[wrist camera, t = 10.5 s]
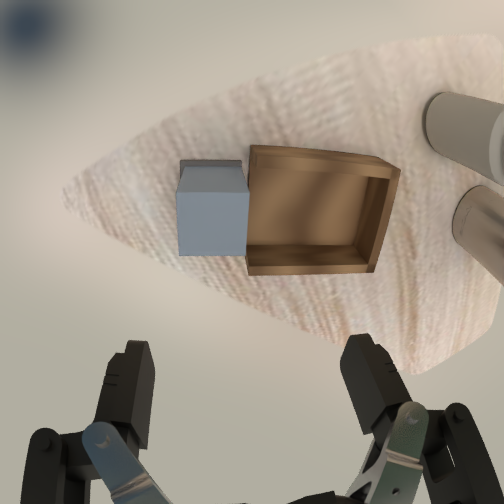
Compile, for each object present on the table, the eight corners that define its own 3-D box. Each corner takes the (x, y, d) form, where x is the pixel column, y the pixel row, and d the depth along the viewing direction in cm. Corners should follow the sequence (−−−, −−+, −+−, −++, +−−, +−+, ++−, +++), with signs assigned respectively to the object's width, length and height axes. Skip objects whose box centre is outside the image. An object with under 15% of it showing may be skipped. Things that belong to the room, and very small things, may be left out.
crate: (377, 157, 28) (400, 169, 24) (357, 250, 33) (373, 272, 29) (250, 144, 26) (257, 155, 22) (243, 250, 31) (248, 275, 28)
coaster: (241, 160, 27) (241, 161, 26) (238, 219, 30) (238, 222, 29) (180, 160, 26) (180, 161, 25) (182, 219, 29) (181, 222, 28)
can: (438, 166, 29) (512, 209, 19) (409, 115, 25) (494, 143, 15) (473, 130, 27) (547, 162, 16) (448, 79, 23) (531, 96, 13)
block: (241, 166, 26) (249, 192, 20) (238, 217, 29) (245, 255, 23) (185, 166, 26) (176, 192, 20) (186, 217, 28) (179, 256, 22)
